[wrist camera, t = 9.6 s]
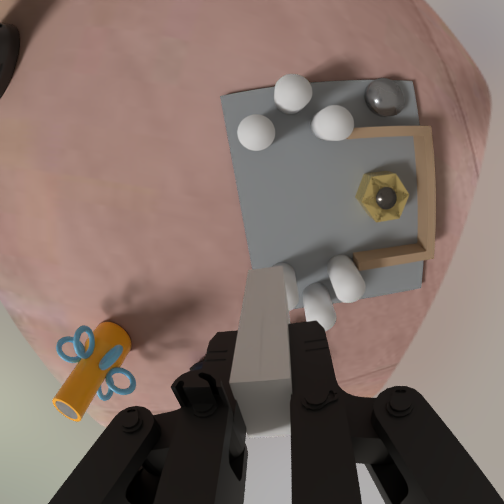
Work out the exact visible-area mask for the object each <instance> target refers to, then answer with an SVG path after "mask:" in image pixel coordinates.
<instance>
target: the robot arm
mask: <svg viewBox="0 0 504 504" xmlns="http://www.w3.org/2000/svg"><path fill="white" fill-rule="evenodd" d="M18 52H19V33H18V30H17V28H16V27H15V26H13V25H10V24H6V23H0V97H1V96H2V94H3V92H4V91H5V89H6V87H7V85H8V83H9V81H10V78H11V76H12V73H13V71H14V68H15V64H16V61H17V57H18ZM171 389H172V390H173V392H174V394H175V396H176V398H177V400H178V402H179V404H180V406H181V408H180V409H178V410H175V411H171V412H167V413H162V414H157V415H152V413H151V412H150V410H148V409H146V408H145V407H140V406H133V407H128V408H126V409H124V410H122V411H120V412H119V413H118V414H117V415H116V416H115V417H114V419H113V420H112V421H111V422H110V424H109V425H108V426H107V428H106V429H105V430H104V432H103V433H102V434H101V435H100V437H99V438H98V439H97V441H96V442H95V443H94V445H93V446H92V447H91V448H90V450H89V451H88V452H87V454H86V455H85V456H84V458H83V459H82V460H81V461H80V463H79V464H78V465H77V466H76V468H75V469H74V470H73V472H72V473H71V474H70V476H69V477H68V478H67V480H66V481H65V482H64V483H63V485H62V486H61V488H60V489H59V490H58V491H57V493H56V494H55V495H54V497H53V498H52V499H51V500H50V502H49V503H48V504H243V502H244V492H245V481H246V470H247V458H248V451H247V446H246V444H245V437H246V432H247V434H248V437H249V438H265V437H279V436H291V469H292V504H362V502H361V494H360V487H359V482H358V475H357V469H356V463H362V464H365V466H366V468H367V470H368V471H369V473H370V475H371V477H372V479H373V481H374V483H375V485H376V487H377V488H378V490H379V492H380V494H381V496H382V498H383V500H384V502H385V504H504V501H503V500H502V498H501V497H500V496H499V494H498V493H497V491H496V490H495V488H494V487H493V486H492V484H491V483H490V482H489V480H488V479H487V478H486V476H485V475H484V474H483V472H482V471H481V470H480V468H479V467H478V465H477V464H476V463H475V462H474V460H473V459H472V458H471V456H470V455H469V454H468V452H467V451H466V450H465V449H464V447H463V446H462V445H461V443H460V442H459V441H458V439H457V438H456V437H455V436H454V435H453V433H452V432H451V431H450V429H449V428H448V427H447V426H446V424H445V423H444V422H443V421H442V419H441V418H440V417H439V416H438V414H437V413H436V412H435V411H434V410H433V408H432V407H431V406H430V405H429V403H428V402H427V401H426V400H425V399H424V397H423V396H422V395H421V394H420V393H419V392H417V391H416V390H415V389H413V388H410V387H407V386H394V387H391V388H387V389H386V390H384V391H383V392H381V393H380V394H379V395H378V397H377V398H367V397H358V396H353V395H351V394H348V393H346V392H345V391H343V390H342V389H341V388H340V387H339V385H338V383H337V381H336V377H335V373H334V368H333V364H332V359H331V355H330V350H329V346H328V342H327V338H326V333H325V329H324V327H323V326H322V325H320V324H319V323H318V322H317V321H316V320H315V321H308V322H301V323H293V324H290V316H289V308H288V301H287V294H286V286H285V279H284V272H283V266H276V267H269V268H261V269H254V270H248V275H247V281H246V287H245V293H244V298H243V304H242V310H241V316H240V322H239V328H238V331H227V332H217V333H216V335H215V336H214V337H213V338H212V339H211V340H210V342H209V345H208V349H207V354H206V356H205V359H204V363H203V366H202V369H198V370H192V371H189V372H187V373H184V374H182V375H181V376H180V377H178V378H177V379H176V380H175V381H174V383H173V384H172V386H171Z"/></svg>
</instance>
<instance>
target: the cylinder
mask: <svg viewBox="0 0 504 504" xmlns="http://www.w3.org/2000/svg"><path fill="white" fill-rule="evenodd" d="M83 332H86V333H87V334H88V336H89V337H88V339H87V340H86V342H85V348H84V346H83V344H82V343H81V342H80V341H79V339H80V336H81V334H82V333H83ZM66 342H72V343H73V344H74V349H75V352H76V354H77V355H78V356H76V357H69V356H67V355H65V354H64V353H63V351H62V345H63V344H64V343H66ZM56 349H57V353H58V355H59V356H60V357H61V358H62V359H63V360H65V361H67V362H70V363H77V362H79V363H78V364H77V365H76V367H75V368H74V370H73V371H72V372H71V374H70V375H69V377H68V378H67V380H66V381H65V382H64V384H63V385H62V387H61V388H60V390H59V391H58V393H57V394H56V395H55V397H54V398H53V400H52V401H53V404H54V406H55V407H56V409H57V410H58V411H59V412H60V413H62V414H63V415H64V416H65V417H67V418H69V419H71V420H73V421H77V422H78V421H81V419H82V417H83V415H84V413H85V412H86V410H87V408H88V407H89V405H90V403H91V401H92V400H93V398H94V396H95V394H96V393H97V395H98V397H99V398H100V399H101V400H103V401H107V400H109V399H110V398H111V396H112V394H113V391H114V392H115V393H117V394H121V395H127V394H130V393H132V392H133V391H134V390H135V387H136V380H135V378H134V376H133V375H132V374H131V373H130V372H129V371H128V370H126V369H124V368H120V366H121V365H122V363H123V362H124V360H125V358H126V356H127V355H128V353H129V351H130V350H131V339H130V337H129V335H128V334H127V332H126V331H125V330H124V329H123V328H122V327H120V326H119V325H117V324H115V323H112V322H102V323H100V324H99V325H98V326H97V327H96V329H95V330H94V331H93V332H92V330H91V329H90V328H89V327H88V326H80V327H79V328H78V329H77V330H76V332H75V335H74V337H63V338H61V339H60V340H59V341H58V342H57V345H56ZM115 373H122V374H124V375H126V376H127V377H128V378H129V380H130V386H129V388H127V389H120V388H117V387H116V386H115V385H114V381H113V378H112V375H113V374H115ZM105 378H106V383H107V385H108V387H109V390H108V393H107V394H106V395H103V394H102V391H101V384H102V383H103V381H104V379H105Z"/></svg>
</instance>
